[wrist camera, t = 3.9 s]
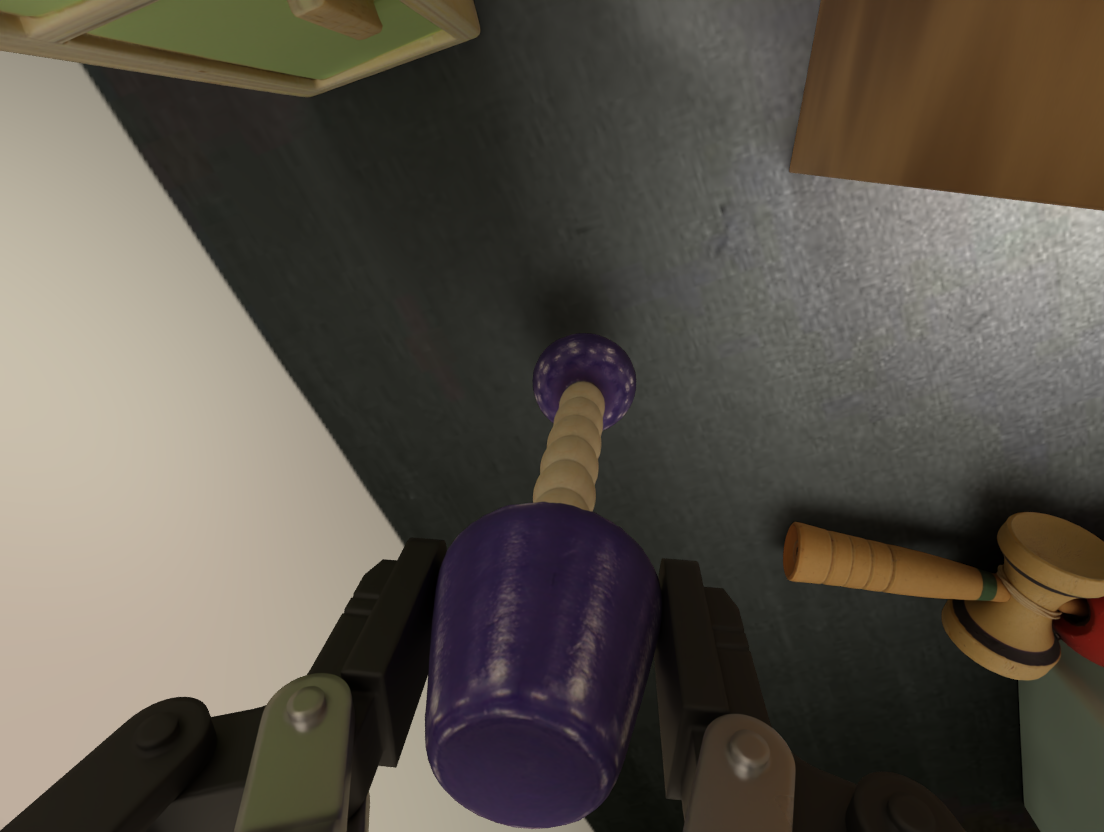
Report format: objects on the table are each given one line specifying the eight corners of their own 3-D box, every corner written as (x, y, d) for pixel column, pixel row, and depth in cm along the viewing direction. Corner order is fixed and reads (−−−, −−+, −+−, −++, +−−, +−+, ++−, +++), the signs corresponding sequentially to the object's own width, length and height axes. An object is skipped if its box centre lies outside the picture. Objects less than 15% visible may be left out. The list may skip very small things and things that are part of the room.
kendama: (764, 585, 33) (1120, 653, 30) (783, 653, 27) (1230, 748, 24) (791, 460, 31) (1176, 519, 28) (817, 504, 25) (1310, 585, 22)
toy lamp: (506, 400, 24) (339, 816, 9) (547, 300, 22) (418, 623, 7) (609, 442, 25) (611, 905, 10) (658, 347, 23) (757, 746, 8)
